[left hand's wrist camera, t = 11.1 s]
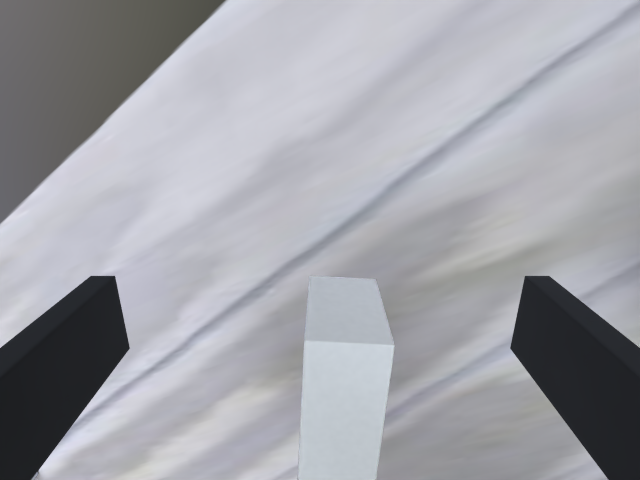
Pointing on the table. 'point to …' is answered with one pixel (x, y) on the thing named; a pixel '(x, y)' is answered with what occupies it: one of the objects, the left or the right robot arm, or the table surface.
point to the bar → (344, 379)
